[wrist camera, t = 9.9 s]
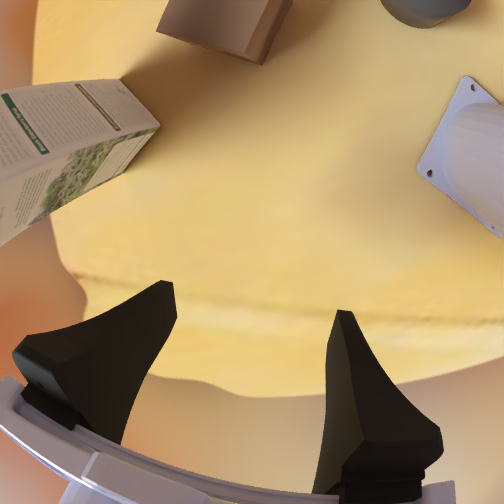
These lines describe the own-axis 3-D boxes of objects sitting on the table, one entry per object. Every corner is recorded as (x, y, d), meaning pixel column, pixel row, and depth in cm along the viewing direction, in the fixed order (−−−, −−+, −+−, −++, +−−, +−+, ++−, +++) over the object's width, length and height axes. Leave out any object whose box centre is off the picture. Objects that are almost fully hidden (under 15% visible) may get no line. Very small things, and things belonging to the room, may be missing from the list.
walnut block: (292, 2, 13) (283, -28, 9) (262, 65, 16) (243, 53, 11) (220, -16, 13) (192, -44, 9) (192, 44, 16) (155, 31, 11)
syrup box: (119, 75, 17) (-63, 100, 5) (166, 126, 19) (-22, 194, 6) (81, 129, 20) (-73, 190, 7) (122, 178, 21) (-30, 274, 9)
